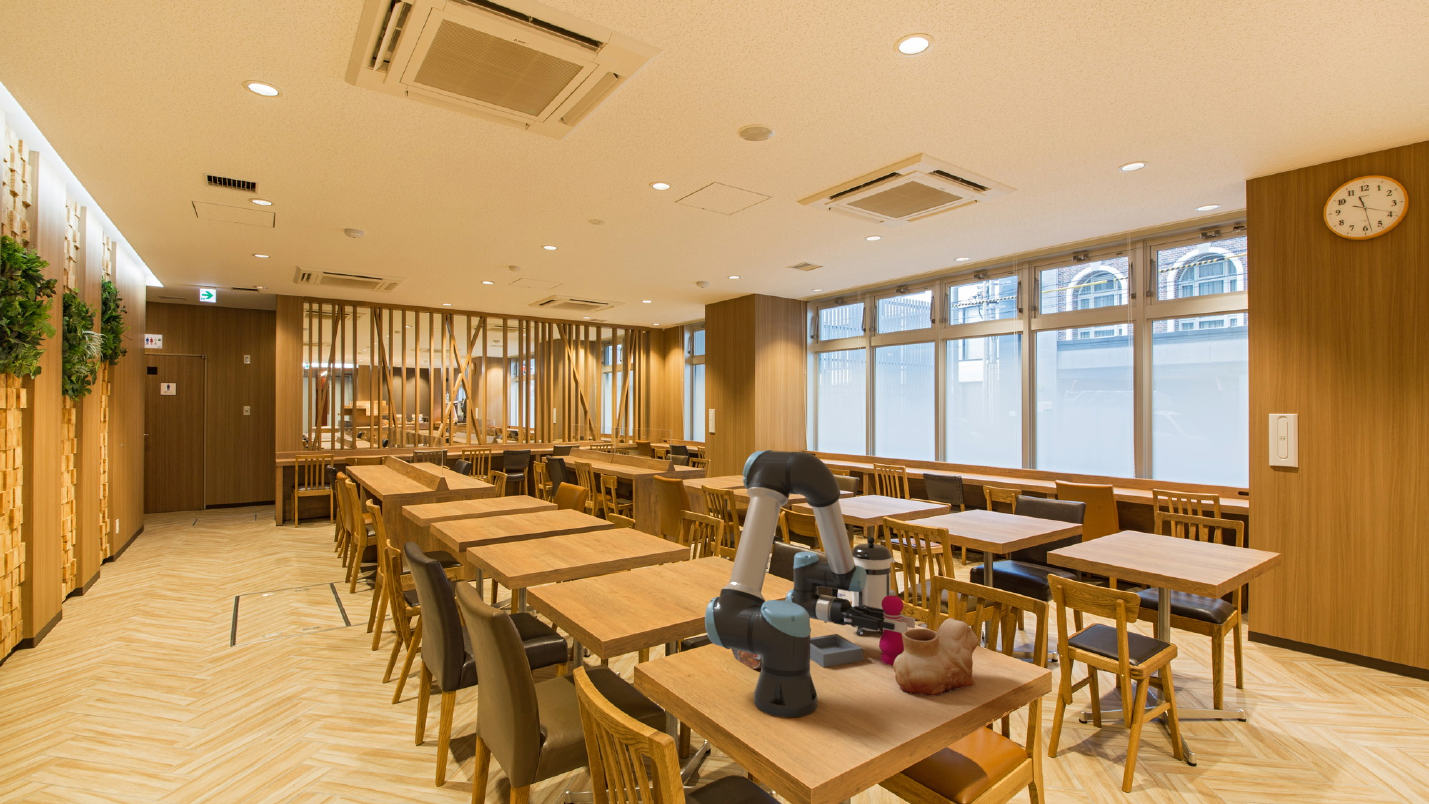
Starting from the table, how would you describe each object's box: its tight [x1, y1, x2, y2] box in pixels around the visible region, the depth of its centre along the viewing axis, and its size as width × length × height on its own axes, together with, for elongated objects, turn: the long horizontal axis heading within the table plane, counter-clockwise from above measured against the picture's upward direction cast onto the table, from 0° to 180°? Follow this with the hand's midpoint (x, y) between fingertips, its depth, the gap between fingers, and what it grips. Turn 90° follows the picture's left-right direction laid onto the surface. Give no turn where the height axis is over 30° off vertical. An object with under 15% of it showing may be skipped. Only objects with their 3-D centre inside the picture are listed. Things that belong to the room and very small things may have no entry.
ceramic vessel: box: [892, 617, 979, 697], centre depth 170 cm, size 14×26×15 cm, turn 119°
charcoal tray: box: [810, 633, 864, 668], centre depth 188 cm, size 13×13×4 cm
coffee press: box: [831, 536, 896, 637], centre depth 210 cm, size 17×16×30 cm
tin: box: [731, 649, 762, 670], centre depth 183 cm, size 15×3×8 cm, turn 31°
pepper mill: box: [878, 589, 904, 666], centre depth 185 cm, size 7×7×20 cm
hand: (910, 625), depth 181 cm, fingers closed on pepper mill, 5 cm apart
